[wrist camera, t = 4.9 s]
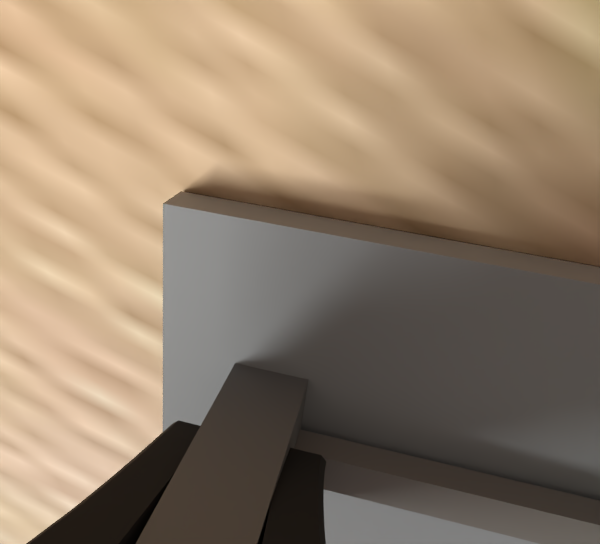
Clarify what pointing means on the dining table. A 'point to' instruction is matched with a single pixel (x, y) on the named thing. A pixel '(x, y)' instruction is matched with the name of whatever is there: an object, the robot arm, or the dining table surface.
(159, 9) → the dining table surface
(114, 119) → the dining table surface
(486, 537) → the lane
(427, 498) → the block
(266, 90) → the dining table surface
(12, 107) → the dining table surface
